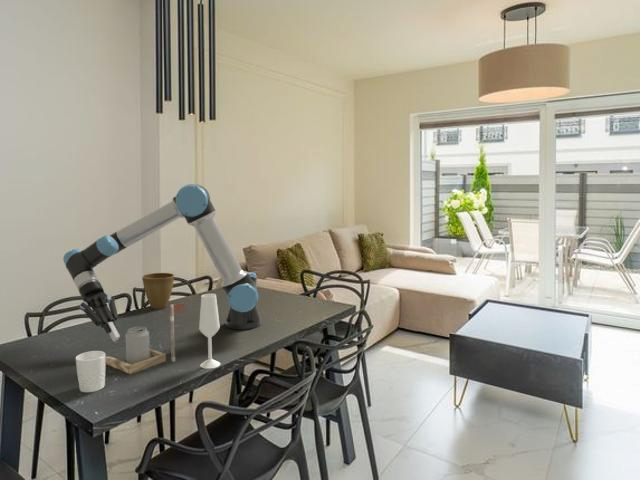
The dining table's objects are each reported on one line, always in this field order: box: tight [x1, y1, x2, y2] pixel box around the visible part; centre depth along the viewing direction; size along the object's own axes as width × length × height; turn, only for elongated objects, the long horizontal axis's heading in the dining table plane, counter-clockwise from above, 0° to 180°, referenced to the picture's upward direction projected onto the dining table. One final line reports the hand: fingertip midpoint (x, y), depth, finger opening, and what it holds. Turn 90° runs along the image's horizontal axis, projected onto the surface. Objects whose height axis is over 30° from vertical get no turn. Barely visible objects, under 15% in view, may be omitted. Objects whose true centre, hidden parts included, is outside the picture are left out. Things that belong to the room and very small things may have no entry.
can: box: [125, 326, 151, 365], centre depth 152 cm, size 8×8×12 cm
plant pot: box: [141, 272, 175, 310], centre depth 221 cm, size 15×15×16 cm
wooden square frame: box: [105, 301, 185, 375], centre depth 154 cm, size 23×23×20 cm
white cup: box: [75, 350, 106, 393], centre depth 133 cm, size 8×8×10 cm
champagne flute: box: [198, 293, 221, 369], centre depth 150 cm, size 7×7×24 cm
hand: (116, 338), depth 158 cm, fingers closed
